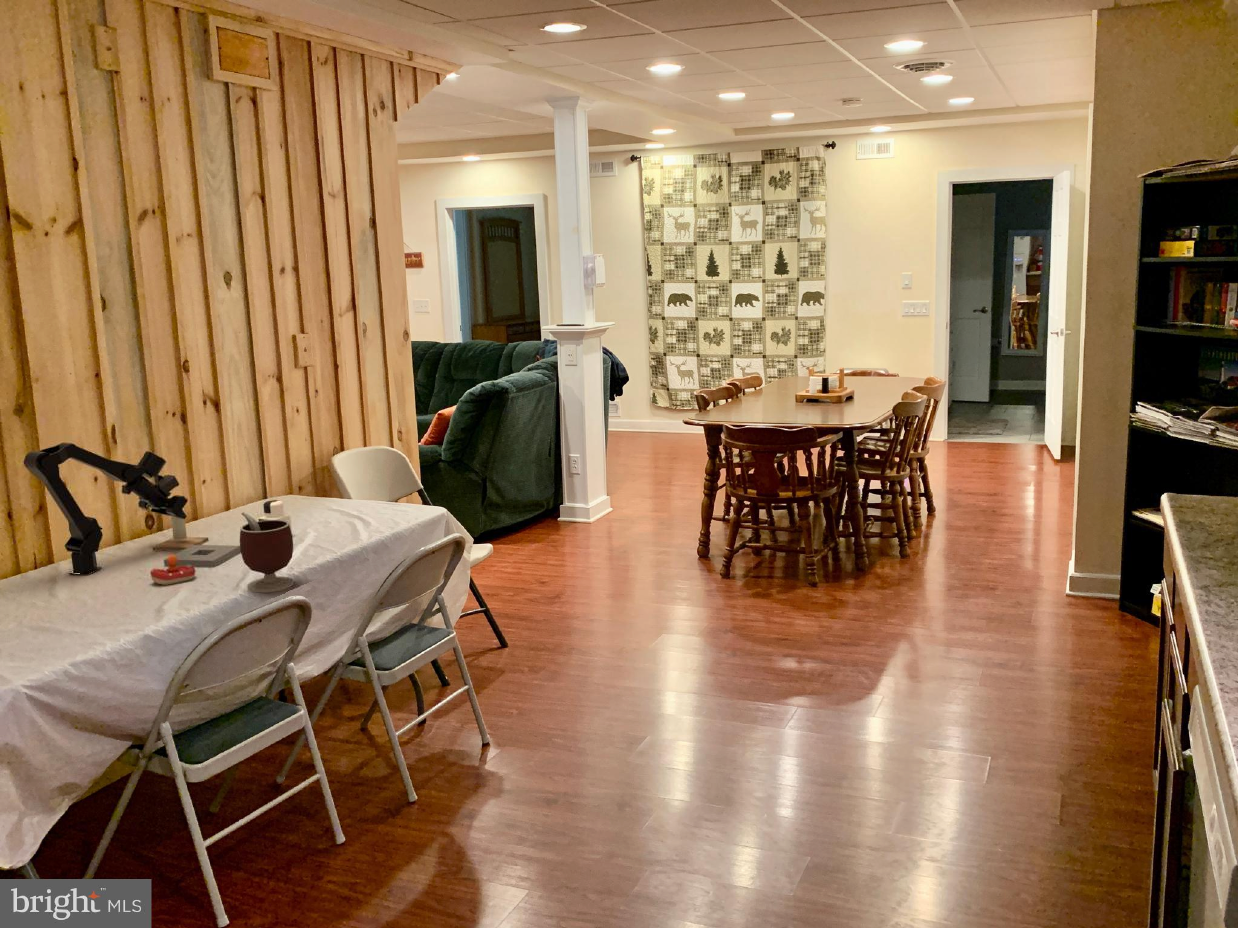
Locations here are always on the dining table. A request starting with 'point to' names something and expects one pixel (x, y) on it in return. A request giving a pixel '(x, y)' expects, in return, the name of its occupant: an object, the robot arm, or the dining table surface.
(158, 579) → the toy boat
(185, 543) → the copper sheet
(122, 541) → the dining table surface
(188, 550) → the cover plate
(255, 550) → the mate gourd
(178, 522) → the key peg
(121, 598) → the dining table surface
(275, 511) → the medicine bottle
